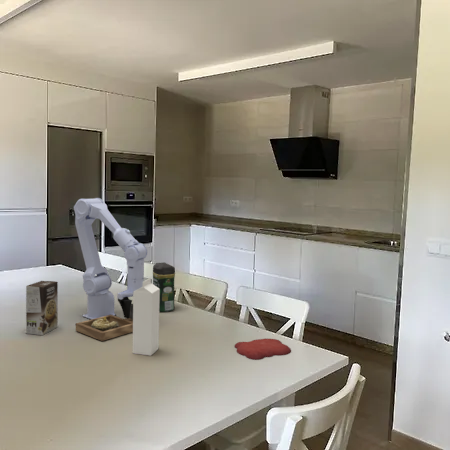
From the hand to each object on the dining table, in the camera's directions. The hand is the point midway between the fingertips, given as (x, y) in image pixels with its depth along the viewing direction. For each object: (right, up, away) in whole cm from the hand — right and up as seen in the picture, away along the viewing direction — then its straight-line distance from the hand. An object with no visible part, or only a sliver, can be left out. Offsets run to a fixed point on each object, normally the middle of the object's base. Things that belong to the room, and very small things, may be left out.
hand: (135, 315), depth 168 cm
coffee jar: (+7, -2, +19) cm, 21 cm away
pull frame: (-6, -3, -7) cm, 10 cm away
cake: (-8, -4, -9) cm, 13 cm away
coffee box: (-29, -3, -10) cm, 31 cm away
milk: (+8, -6, -26) cm, 28 cm away
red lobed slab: (+44, -7, -21) cm, 49 cm away
